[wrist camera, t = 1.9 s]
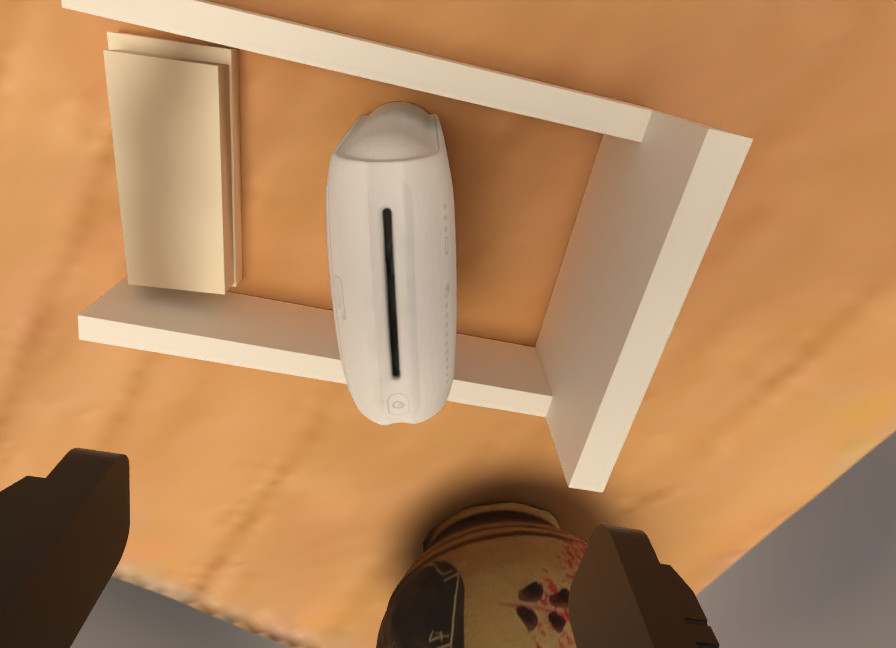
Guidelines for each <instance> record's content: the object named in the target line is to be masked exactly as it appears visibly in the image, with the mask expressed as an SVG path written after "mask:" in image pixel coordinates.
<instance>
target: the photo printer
mask: <svg viewBox="0 0 896 648" xmlns="http://www.w3.org/2000/svg"><path fill="white" fill-rule="evenodd" d="M326 223H327V247H328V261H329V274H330V286H331V296H332V305H333V313H334V322H335V329H336V335H337V342H338V348H339V354H340V360H341V365H342V370H343V372H344V374H345V379H346V382H347V385H348V388H349V391H350V393H351V396H352V398H353V400H354V402H355V404H356V406H357V408H358V409H359V411H360V412H361V413H362V414H363V415H364V416H366V417H367V418H368V419H370V420H371V421H373V422H375V423H377V424H380V425H389V424H393V423H399V422H405V423H412V424H416V423H420V422H423V421H425V420H427V419H429V418H430V417H432V416H433V415H435V414H436V413H437V412H439V411H440V410H441V409H442V407H443V406H444V405H445V403H446V401H447V399H448V396H449V393H450V390H451V386H452V382H453V377H454V370H455V355H456V329H457V270H456V233H455V210H454V195H453V185H452V179H451V172H450V167H449V161H448V156H447V151H446V146H445V141H444V136H443V132H442V128H441V124H440V120H439V117H438V115H437V114H428V113H427V112H426V111H425V110H423V109H422V108H420V107H418V106H416V105H414V104H411V103H407V102H391V103H387V104H384V105H381V106H380V107H378V108H376V109H375V110H374V111H372V112H371V113H370V114H369V115H360V116H359V117H358V118H357V119H356V121H355V122H354V124H353V125H352V127H351V128H350V129H349V131H348V132H347V133H346V135H345V136H344V137H343V139H342V140H341V141H340V142H339V144H338V145H337V147H336V148H335V149H334V151H333V152H332V154H331V159H330V164H329V172H328V180H327V183H326Z"/></svg>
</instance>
